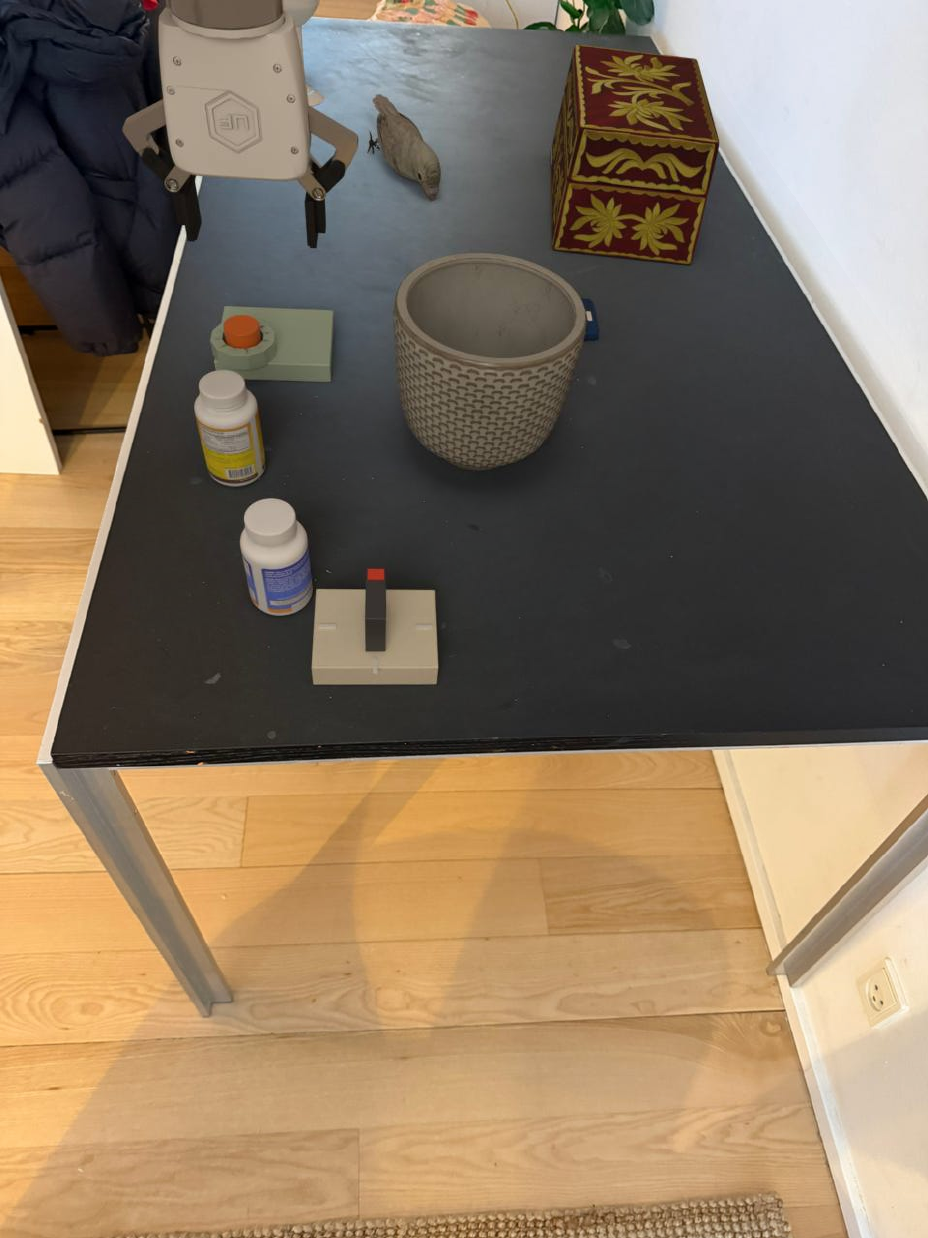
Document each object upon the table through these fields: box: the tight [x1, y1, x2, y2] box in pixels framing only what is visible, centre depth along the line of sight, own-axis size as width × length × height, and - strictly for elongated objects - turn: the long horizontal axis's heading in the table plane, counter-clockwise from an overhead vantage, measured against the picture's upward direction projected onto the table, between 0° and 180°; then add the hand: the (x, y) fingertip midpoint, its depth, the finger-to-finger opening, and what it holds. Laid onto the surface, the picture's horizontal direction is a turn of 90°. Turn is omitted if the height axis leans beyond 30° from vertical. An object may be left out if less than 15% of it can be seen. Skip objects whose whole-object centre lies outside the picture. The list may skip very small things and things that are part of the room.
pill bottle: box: [239, 497, 314, 617], centre depth 71 cm, size 5×5×10 cm
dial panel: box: [311, 588, 439, 686], centre depth 72 cm, size 10×9×3 cm
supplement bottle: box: [193, 370, 266, 487], centre depth 80 cm, size 6×6×10 cm
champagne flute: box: [283, 0, 324, 107], centre depth 124 cm, size 7×7×24 cm
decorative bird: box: [366, 93, 442, 202], centre depth 119 cm, size 5×16×8 cm, turn 31°
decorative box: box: [550, 44, 720, 265], centre depth 115 cm, size 28×19×15 cm
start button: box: [223, 315, 261, 349], centre depth 90 cm, size 4×4×2 cm
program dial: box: [364, 568, 387, 651], centre depth 69 cm, size 5×2×5 cm, turn 3°
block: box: [209, 305, 335, 383], centre depth 93 cm, size 12×11×4 cm
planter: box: [392, 252, 587, 472], centre depth 83 cm, size 17×17×16 cm
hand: (254, 235), depth 71 cm, fingers open, 9 cm apart
